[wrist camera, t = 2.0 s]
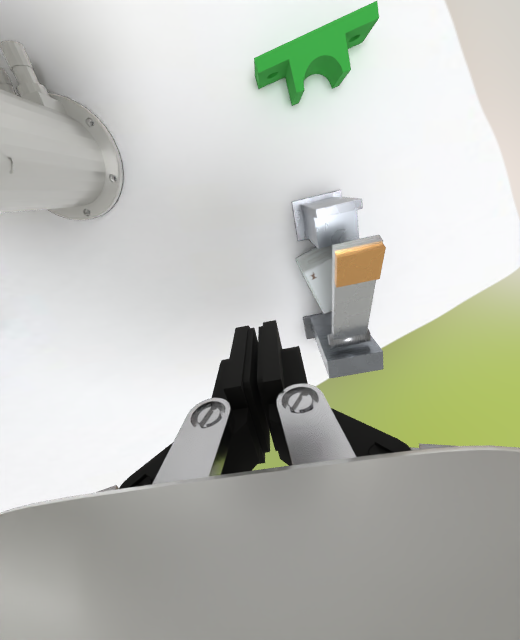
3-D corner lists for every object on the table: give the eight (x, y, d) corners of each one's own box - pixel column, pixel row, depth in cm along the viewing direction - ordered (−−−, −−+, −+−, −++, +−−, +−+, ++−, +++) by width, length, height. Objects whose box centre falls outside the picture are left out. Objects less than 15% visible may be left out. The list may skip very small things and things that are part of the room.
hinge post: (303, 317, 41) (318, 362, 30) (356, 306, 40) (392, 349, 29) (306, 337, 42) (322, 388, 31) (358, 327, 41) (392, 376, 30)
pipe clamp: (266, 117, 30) (266, 106, 26) (255, 77, 29) (253, 58, 25) (366, 74, 28) (383, 54, 24) (360, 28, 27) (377, -1, 23)
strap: (326, 243, 21) (331, 257, 20) (382, 230, 21) (391, 243, 20) (327, 339, 32) (331, 352, 31) (364, 332, 32) (370, 345, 30)
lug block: (291, 201, 34) (304, 206, 24) (339, 190, 33) (373, 189, 23) (297, 240, 36) (311, 259, 26) (343, 230, 35) (375, 245, 25)
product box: (312, 294, 39) (322, 315, 32) (294, 257, 37) (301, 272, 30) (352, 275, 38) (371, 292, 31) (336, 235, 35) (353, 245, 29)
